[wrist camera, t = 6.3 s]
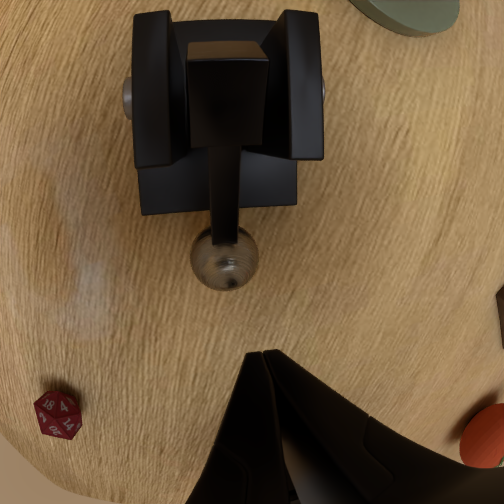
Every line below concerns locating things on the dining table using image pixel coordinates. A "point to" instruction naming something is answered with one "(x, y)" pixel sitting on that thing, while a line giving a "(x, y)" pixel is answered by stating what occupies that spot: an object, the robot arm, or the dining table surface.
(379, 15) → the lamp
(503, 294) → the dimmer box
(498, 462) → the tomato
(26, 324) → the dining table surface
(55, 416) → the dice
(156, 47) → the switch bracket
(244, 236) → the lever
